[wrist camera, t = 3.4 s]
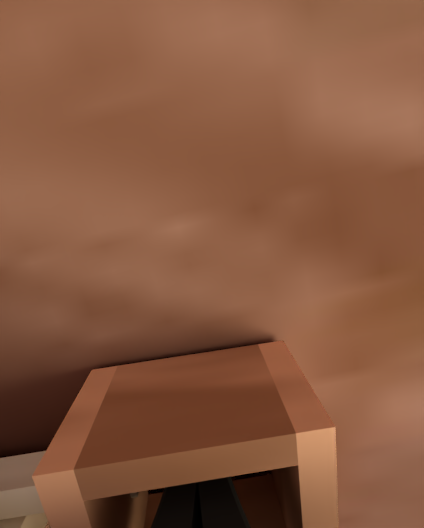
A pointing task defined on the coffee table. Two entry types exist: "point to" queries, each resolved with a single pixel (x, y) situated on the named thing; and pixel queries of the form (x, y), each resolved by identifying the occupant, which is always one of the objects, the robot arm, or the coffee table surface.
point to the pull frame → (184, 443)
